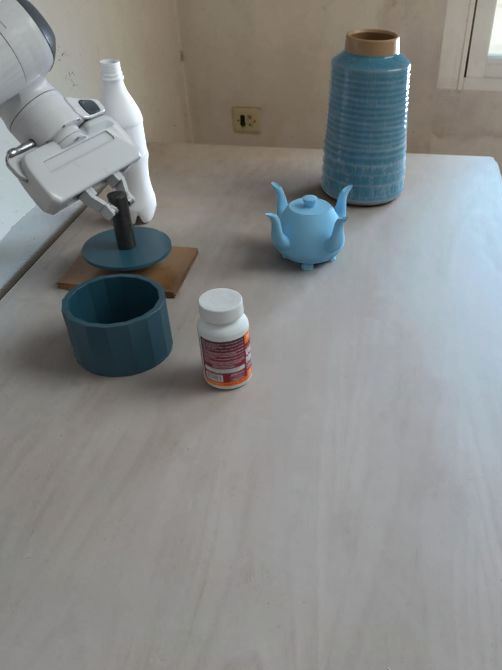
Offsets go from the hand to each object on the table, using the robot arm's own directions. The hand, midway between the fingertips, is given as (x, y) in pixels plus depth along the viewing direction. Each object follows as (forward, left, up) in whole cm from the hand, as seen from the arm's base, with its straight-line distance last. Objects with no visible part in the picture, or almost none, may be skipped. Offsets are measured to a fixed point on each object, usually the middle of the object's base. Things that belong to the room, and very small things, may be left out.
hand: (123, 210), depth 92 cm
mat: (-1, 0, -10) cm, 10 cm away
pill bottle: (+20, -24, -10) cm, 33 cm away
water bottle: (-6, +18, -10) cm, 21 cm away
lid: (-1, 0, -6) cm, 6 cm away
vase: (+33, +37, -10) cm, 51 cm away
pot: (+5, -20, -10) cm, 23 cm away
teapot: (+26, +9, -10) cm, 30 cm away
